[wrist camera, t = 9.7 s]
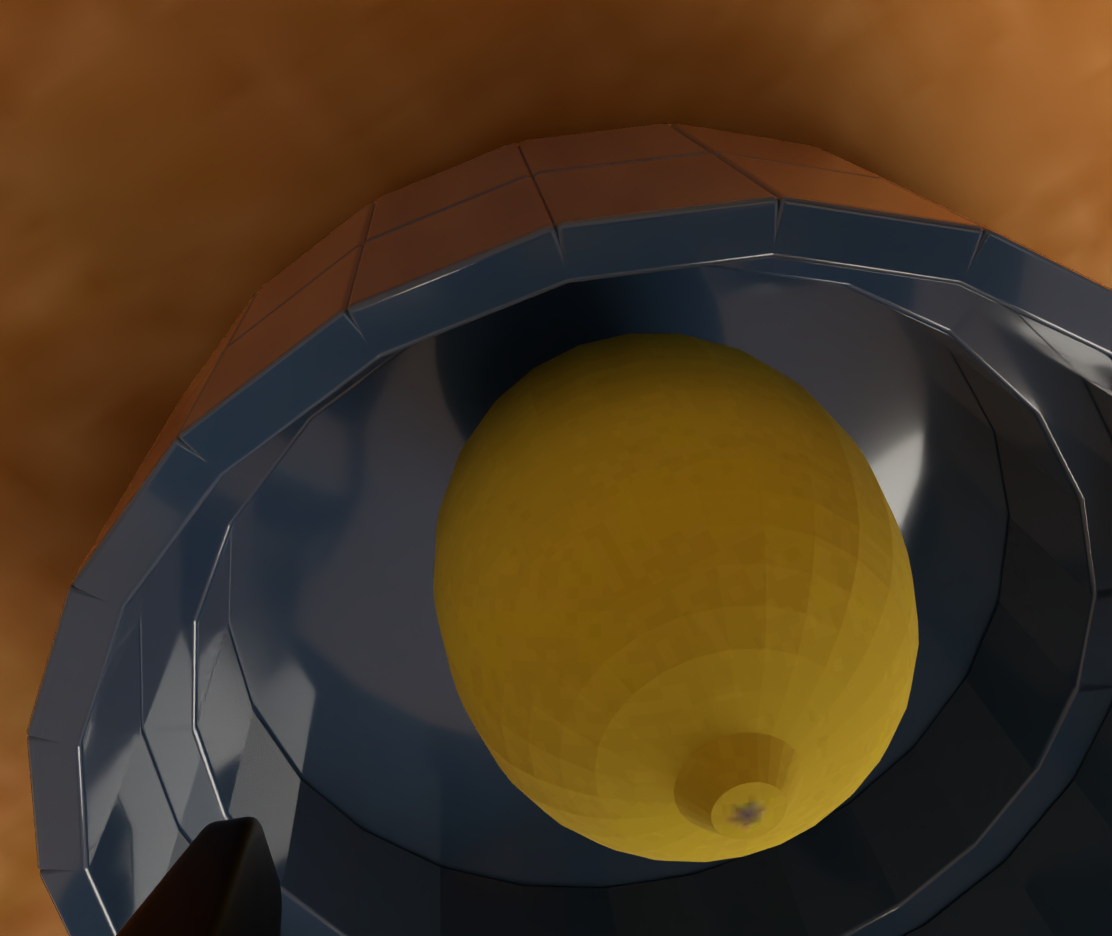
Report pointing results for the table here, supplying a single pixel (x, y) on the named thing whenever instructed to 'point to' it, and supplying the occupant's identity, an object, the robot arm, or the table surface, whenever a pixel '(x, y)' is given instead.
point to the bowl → (410, 539)
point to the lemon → (674, 598)
